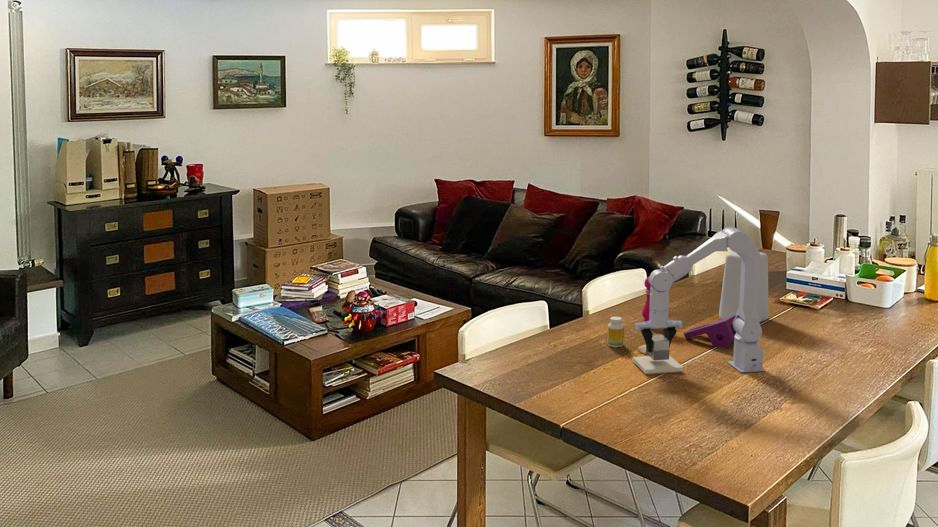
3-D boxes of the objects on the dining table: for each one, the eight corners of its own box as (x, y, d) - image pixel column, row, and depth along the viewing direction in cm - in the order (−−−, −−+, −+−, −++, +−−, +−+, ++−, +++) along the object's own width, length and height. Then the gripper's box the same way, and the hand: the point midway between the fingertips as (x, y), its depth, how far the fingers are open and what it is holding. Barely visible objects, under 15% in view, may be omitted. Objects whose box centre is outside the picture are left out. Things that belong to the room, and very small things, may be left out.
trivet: (683, 372, 249) (683, 367, 249) (645, 375, 248) (645, 369, 247) (668, 360, 261) (668, 354, 260) (632, 362, 259) (632, 357, 259)
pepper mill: (637, 323, 300) (638, 271, 296) (653, 321, 303) (655, 269, 299) (649, 329, 294) (651, 275, 290) (665, 326, 297) (667, 272, 292)
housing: (669, 359, 250) (669, 340, 249) (653, 360, 250) (654, 341, 249) (661, 352, 257) (661, 334, 256) (645, 353, 257) (646, 335, 255)
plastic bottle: (736, 311, 314) (740, 240, 308) (772, 319, 303) (777, 245, 297) (714, 318, 305) (717, 245, 299) (750, 327, 293) (754, 251, 287)
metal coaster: (669, 354, 266) (669, 352, 266) (643, 355, 265) (643, 354, 265) (660, 345, 275) (660, 344, 275) (634, 347, 274) (634, 345, 274)
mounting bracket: (687, 358, 280) (734, 345, 268) (678, 335, 281) (724, 321, 269) (699, 350, 287) (745, 338, 275) (690, 328, 288) (736, 314, 276)
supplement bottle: (605, 343, 279) (606, 316, 277) (621, 342, 280) (621, 315, 277) (609, 347, 274) (609, 320, 272) (625, 347, 274) (625, 320, 272)
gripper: (676, 304, 255) (675, 345, 258) (632, 306, 253) (631, 348, 256) (685, 310, 248) (683, 352, 251) (639, 312, 246) (638, 355, 249)
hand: (657, 350), depth 253 cm, fingers closed on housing, 5 cm apart
